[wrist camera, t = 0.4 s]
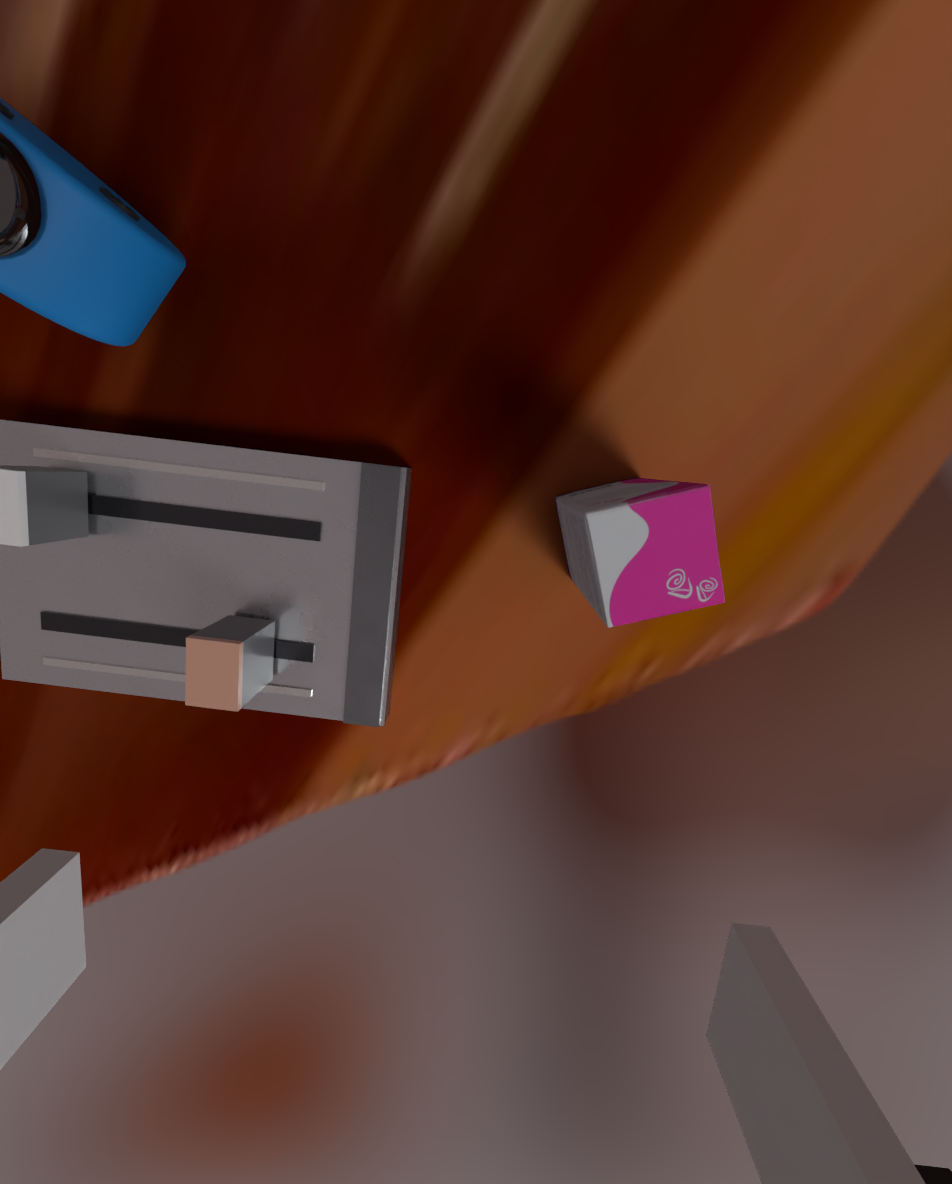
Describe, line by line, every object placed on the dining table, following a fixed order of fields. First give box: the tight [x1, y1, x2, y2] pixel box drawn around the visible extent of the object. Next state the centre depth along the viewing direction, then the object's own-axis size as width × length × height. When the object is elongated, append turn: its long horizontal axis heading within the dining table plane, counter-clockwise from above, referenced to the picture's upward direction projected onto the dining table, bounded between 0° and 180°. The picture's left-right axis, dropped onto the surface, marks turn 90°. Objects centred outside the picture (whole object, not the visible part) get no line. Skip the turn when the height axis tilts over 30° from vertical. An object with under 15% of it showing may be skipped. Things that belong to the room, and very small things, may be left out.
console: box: [0, 420, 412, 727], centre depth 37 cm, size 17×26×2 cm, turn 83°
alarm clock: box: [0, 98, 186, 346], centre depth 27 cm, size 13×6×15 cm, turn 49°
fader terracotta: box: [185, 615, 275, 711], centre depth 34 cm, size 4×3×5 cm
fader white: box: [0, 465, 89, 547], centre depth 32 cm, size 4×3×5 cm
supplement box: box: [555, 478, 725, 627], centre depth 31 cm, size 6×6×12 cm
